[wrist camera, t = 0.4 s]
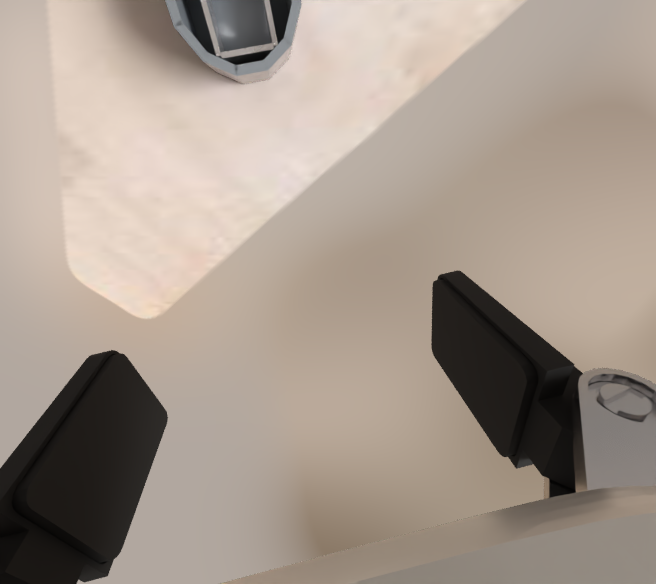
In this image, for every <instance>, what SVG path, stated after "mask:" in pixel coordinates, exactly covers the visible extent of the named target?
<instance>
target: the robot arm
mask: <svg viewBox="0 0 656 584" xmlns="http://www.w3.org/2000/svg"><path fill="white" fill-rule="evenodd" d="M432 300H433V301H432V352H433V354H434V356H435V358H436V360H437V361H438V363H439V364H440V366H441V367H442V369H443V370H444V372H445V373H446V375H447V376H448V378H449V379H450V381H451V382H452V383H453V385H454V387H455V388H456V390H457V391H458V392H459V394H460V395H461V397H462V399H463V400H464V402H465V403H466V405H467V406H468V408H469V409H470V410H471V412H472V414H473V415H474V417H475V418H476V419H477V421H478V423H479V424H480V426H481V427H482V428H483V430H484V431H485V433H486V434H487V436H488V437H489V439H490V441H491V442H492V444H493V445H494V446H495V448H496V449H497V451H498V452H499V453H500V454H501V455H502V456H503V457H509V459H510V460H511V462H512V463H513V465H514V466H515V467H516V468H521V467H524V466H528V465H532V464H534V465H535V466H536V468H537V469H538V470H539V472H540V473H541V475H542V476H544V499H543V500H539V501H535V502H530V503H526V504H522V505H518V506H514V507H510V508H506V509H502V510H497V511H493V512H489V513H485V514H481V515H477V516H473V517H469V518H465V519H461V520H457V521H454V522H450V523H446V524H443V525H438V526H435V527H431V528H427V529H423V530H420V531H416V532H412V533H408V534H404V535H400V536H397V537H393V538H389V539H385V540H382V541H377V542H374V543H370V544H366V545H362V546H358V547H355V548H351V549H348V550H343V551H340V552H336V553H332V554H328V555H325V556H321V557H317V558H313V559H310V560H306V561H302V562H299V563H295V564H291V565H288V566H284V567H280V568H276V569H273V570H269V571H265V572H262V573H257V574H254V575H250V576H246V577H243V578H239V579H235V580H232V581H228V582H224V583H220V584H656V384H654V383H652V382H651V381H649V380H647V379H645V378H642V377H640V376H638V375H636V374H632V373H629V372H625V371H622V370H616V369H609V368H598V369H592V370H589V371H586V372H584V373H582V372H581V371H579V370H578V369H577V368H575V367H574V364H573V363H572V362H571V361H570V360H568V359H567V358H566V357H564V356H563V355H562V354H561V353H560V352H558V351H557V350H556V349H555V348H554V347H552V346H551V345H550V344H549V343H548V342H546V341H545V340H544V339H543V338H541V337H540V336H539V335H538V334H537V333H535V332H534V331H533V330H532V329H531V328H529V327H528V326H527V325H526V324H524V323H523V322H522V321H520V319H518V318H517V317H516V316H515V315H513V314H512V313H511V312H510V311H508V310H507V309H506V308H505V307H504V306H503V305H501V304H500V303H499V302H498V301H496V300H495V299H494V298H493V297H491V296H490V295H489V294H488V293H487V292H485V291H484V290H483V289H482V288H480V287H479V286H478V285H477V284H476V283H474V282H473V281H472V280H471V279H469V278H468V277H467V276H466V275H465V274H463V273H462V272H461V271H454V272H450V273H445V274H441V275H439V276H438V280H436V281H434V282H433V297H432ZM167 418H168V417H167V412H166V410H165V409H164V407H163V406H162V405H161V403H160V402H159V400H158V399H157V398H156V396H155V395H154V394H153V392H152V391H151V390H150V388H149V387H148V385H147V384H146V383H145V381H144V380H143V379H142V377H141V376H140V374H139V373H138V372H137V370H136V369H135V368H134V366H133V365H132V363H131V362H130V361H129V360H128V358H127V357H126V356H125V355H124V354H120V353H118V352H117V351H113V350H111V351H107V352H103V353H99V354H94V355H91V356H89V357H88V358H87V359H86V360H85V362H84V363H83V364H82V365H81V367H80V368H79V369H78V371H77V372H76V373H75V374H74V376H73V377H72V378H71V379H70V381H69V382H68V383H67V385H66V386H65V387H64V388H63V390H62V391H61V392H60V393H59V395H58V396H57V397H56V398H55V400H54V401H53V402H52V404H51V405H50V406H49V408H48V409H47V410H46V411H45V413H44V414H43V415H42V416H41V418H40V419H39V420H38V421H37V423H36V424H35V425H34V426H33V428H32V429H31V430H30V431H29V433H28V434H27V435H26V437H25V438H24V439H23V440H22V442H21V443H20V444H19V445H18V447H17V448H16V449H15V450H14V452H13V453H12V454H11V456H10V457H9V458H8V459H7V461H6V462H5V463H4V465H3V466H2V467H1V468H0V584H76V583H77V581H78V579H79V580H81V581H83V582H87V581H91V580H95V579H99V578H102V577H106V576H108V573H109V571H110V568H111V565H112V563H113V560H114V559H115V558H116V557H117V556H118V555H119V553H120V552H121V549H122V547H123V544H124V542H125V539H126V536H127V533H128V530H129V528H130V524H131V522H132V519H133V516H134V513H135V511H136V508H137V505H138V502H139V499H140V497H141V494H142V491H143V488H144V486H145V483H146V480H147V477H148V474H149V472H150V469H151V466H152V463H153V460H154V458H155V455H156V452H157V449H158V446H159V444H160V441H161V438H162V435H163V432H164V429H165V427H166V424H167Z"/></svg>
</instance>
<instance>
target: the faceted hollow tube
mask: <svg viewBox="0 0 656 584" xmlns="http://www.w3.org/2000/svg"><path fill="white" fill-rule="evenodd" d="M269 1H270V6H271V12H272V17H273V22H274V27H275V32H276V37H277V42H278V45H277V46H276V47H275V48H274V49H273V50H272V51H271V53H270V54H269V55H268V56H267V57H266V58H265V59H264V60H260V61H254V62H249V63H244V64H238V65H234V64H232V63H230V62H228V61H225V60H223V59H221V58H219V57H217V56H216V53H215V49H214V46H213V42H212V39H211V35H210V32H209V28H208V25H207V21H206V18H205V14H204V11H203V7H202V4H201V0H165V2H166V5H167V8H168V11H169V14H170V17H171V20H172V23H173V26H174V28H175V29H176V30H177V31H178V32H179V34H180V35H181V36H182V37H183V38H184V39H185V41H186V42H187V43H188V44H189V45H190V47H191V48H192V49H193V50H194V51H195V53H196V54H197V55H198V56H199V57H200V59H201V60H202V61H203V62H204V63H206V64H207V65H208V66H209V67H210V68H212V69H213V70H214V71H215V72H217V73H219V74H221V75H224V76H226V77H228V78H230V79H233V80H235V81H237V82H240V83H242V84H247V83H253V82H258V81H263V80H269V79H270V78H271V77H272V76H273V75H274V74H275V73H276V72H277V71H278V70H279V69H280V68H281V67H282V65H283V64H284V63H285V62H286V61H287V60H288V59H289V56H290V52H291V48H292V43H293V39H294V35H295V31H296V27H297V23H298V18H299V14H300V9H301V0H269ZM211 3H212V7H213V10H214V14H215V18H216V21H217V25H218V29H219V32H220V36H221V40H222V43H223V47H224V51H225V52H226V51H231V50H237V49H242V48H248V47H253V46H259V45H264V44H270V43H271V40H270V35H269V30H268V25H267V20H266V15H265V10H264V5H263V1H262V0H211Z"/></svg>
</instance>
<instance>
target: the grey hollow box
mask: <svg viewBox="0 0 656 584" xmlns="http://www.w3.org/2000/svg"><path fill="white" fill-rule="evenodd" d="M262 1H263V5H264V10H265V15H266V20H267V25H268V30H269V35H270V40H271V43H270V44H264V45H259V46H253V47H248V48H242V49H237V50H231V51H226V52H225V51H224V47H223V43H222V40H221V36H220V32H219V29H218V25H217V21H216V18H215V14H214V10H213V7H212V3H211V0H201V4H202V7H203V11H204V14H205V18H206V21H207V25H208V28H209V32H210V35H211V39H212V42H213V46H214V49H215V53H216V56H217V57H219V58H221V59H223V60H225V61H228V62H230V63H232V64H234V65H238V64H244V63H249V62H254V61H260V60H264V59H265V58H266V57H267V56H268V55H269V54H270V53H271V51H272V50H273V49H274V48H275V47H276V46H277V45H278V42H277V37H276V32H275V27H274V22H273V17H272V12H271V6H270V1H269V0H262Z"/></svg>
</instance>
